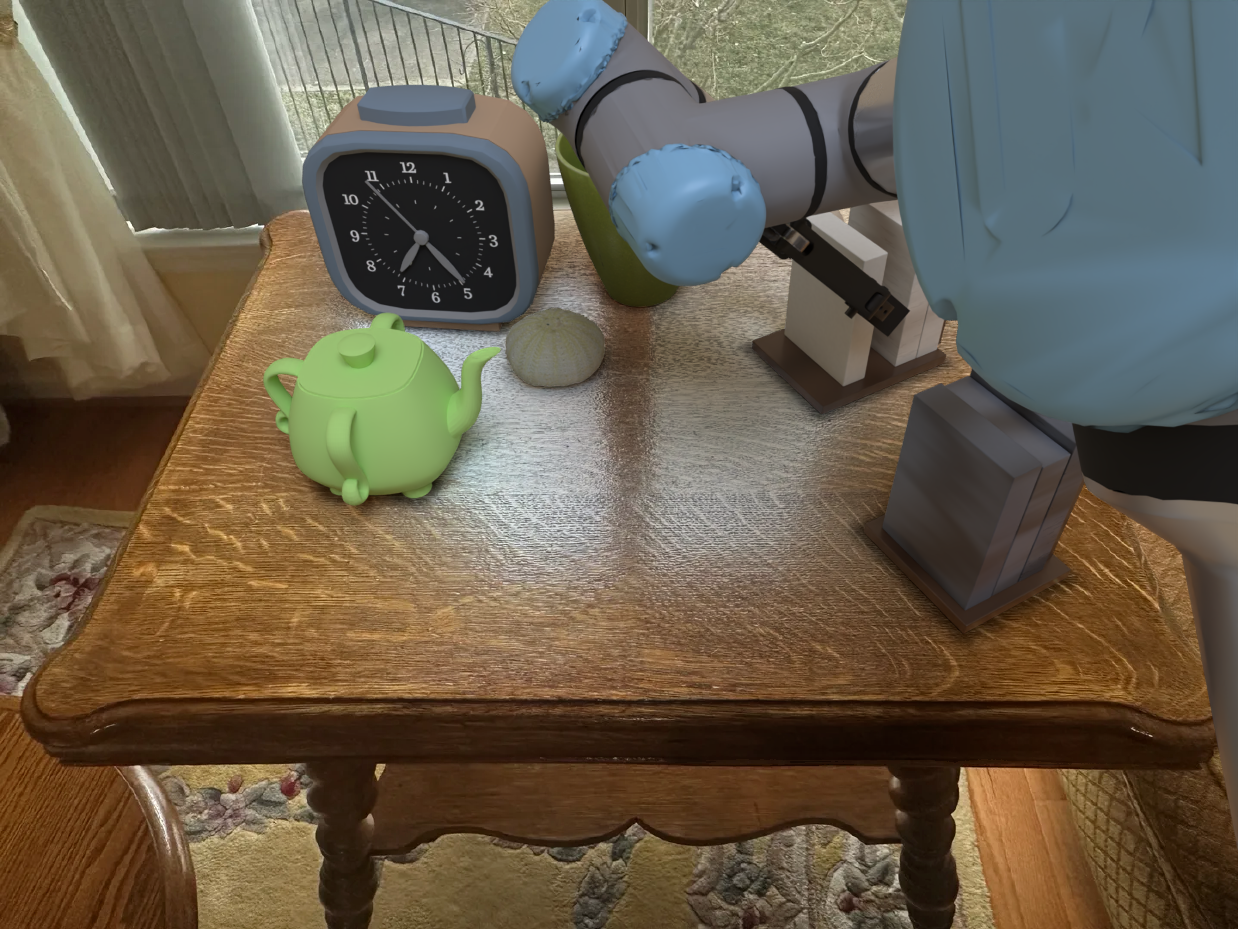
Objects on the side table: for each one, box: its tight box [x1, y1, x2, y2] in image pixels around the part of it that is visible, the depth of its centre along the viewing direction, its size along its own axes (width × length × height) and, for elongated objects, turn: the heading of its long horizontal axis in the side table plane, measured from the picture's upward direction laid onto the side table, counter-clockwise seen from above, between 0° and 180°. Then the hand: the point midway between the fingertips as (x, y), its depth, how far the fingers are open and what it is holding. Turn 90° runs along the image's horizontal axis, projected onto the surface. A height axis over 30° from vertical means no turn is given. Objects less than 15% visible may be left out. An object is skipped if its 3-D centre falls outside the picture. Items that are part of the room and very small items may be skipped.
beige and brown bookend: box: [751, 200, 947, 415], centre depth 83 cm, size 11×15×14 cm
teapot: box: [262, 313, 502, 507], centre depth 76 cm, size 16×14×13 cm
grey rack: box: [863, 368, 1085, 634], centre depth 66 cm, size 11×10×15 cm
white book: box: [784, 212, 888, 386], centre depth 82 cm, size 9×2×13 cm, turn 28°
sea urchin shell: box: [504, 307, 606, 388], centre depth 88 cm, size 9×8×8 cm
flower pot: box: [554, 132, 679, 308], centre depth 92 cm, size 15×15×16 cm
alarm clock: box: [301, 84, 556, 332], centre depth 89 cm, size 21×10×22 cm, turn 82°
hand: (844, 281), depth 81 cm, fingers open, 13 cm apart
